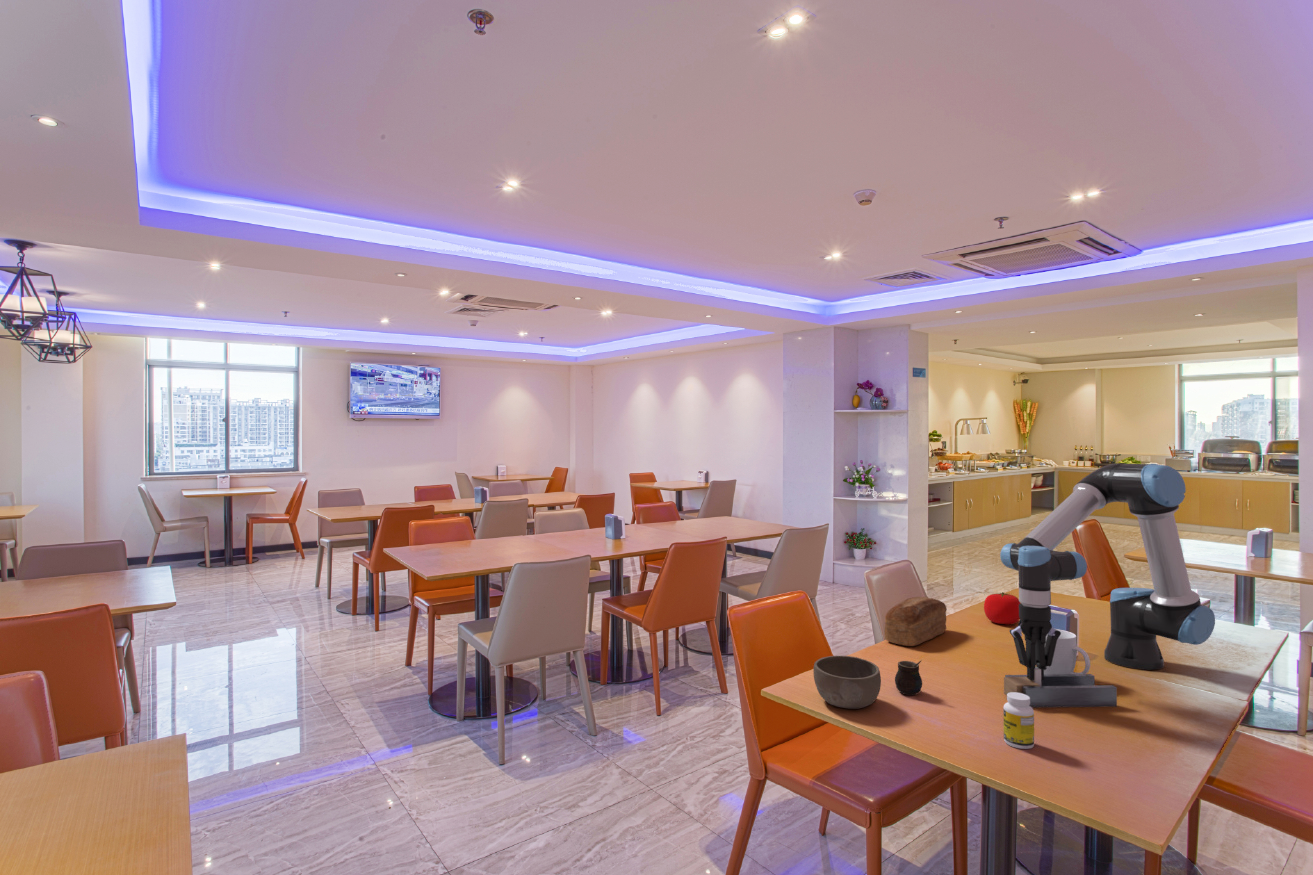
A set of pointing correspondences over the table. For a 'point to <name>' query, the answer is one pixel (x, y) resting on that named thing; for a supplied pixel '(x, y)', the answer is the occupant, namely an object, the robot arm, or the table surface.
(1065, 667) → the mug
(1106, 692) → the chute
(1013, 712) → the pill bottle
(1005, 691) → the block
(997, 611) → the tomato
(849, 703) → the bowl
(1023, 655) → the robot arm
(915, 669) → the mate gourd
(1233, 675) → the table surface
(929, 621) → the bread
